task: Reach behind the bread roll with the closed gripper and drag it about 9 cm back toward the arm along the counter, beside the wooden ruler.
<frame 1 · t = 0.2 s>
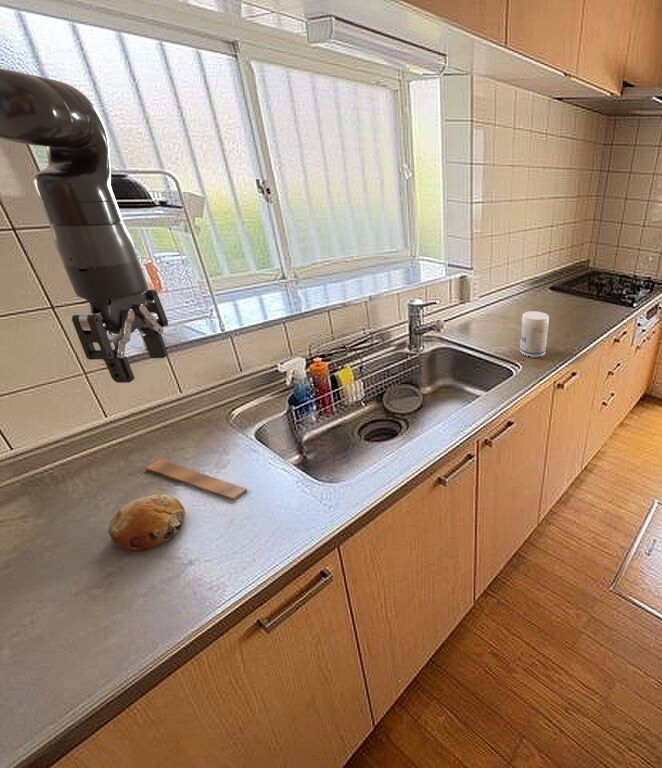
hand: (143, 368, 63), 30 cm above the counter, tool pointing down, fingers open, 8 cm apart
supplement tub: (532, 353, 154), on the counter
bread roll: (154, 531, 73), on the counter
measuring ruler: (195, 480, 85), on the counter
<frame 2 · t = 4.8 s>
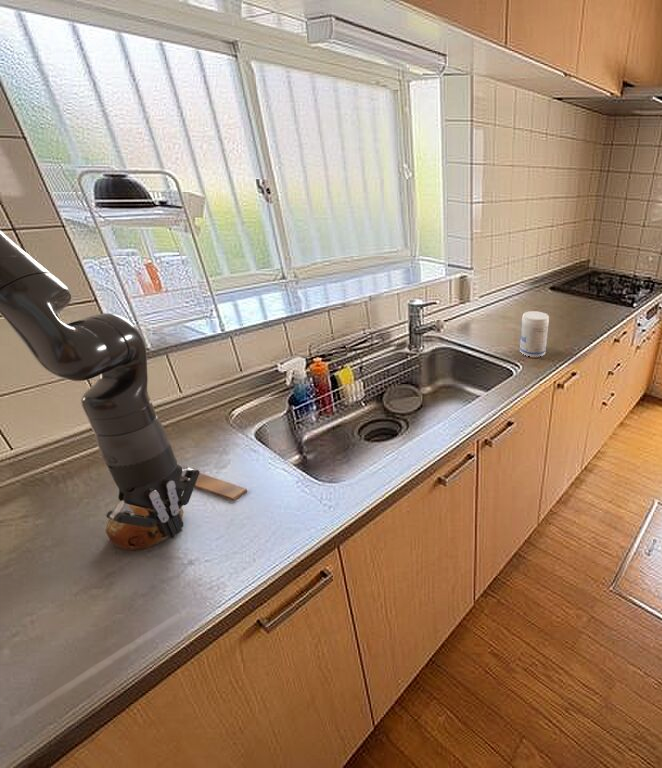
hand: (173, 532, 70), 2 cm above the counter, tool pointing down, fingers closed
bread roll: (151, 530, 73), on the counter, touching gripper
everything else where it was.
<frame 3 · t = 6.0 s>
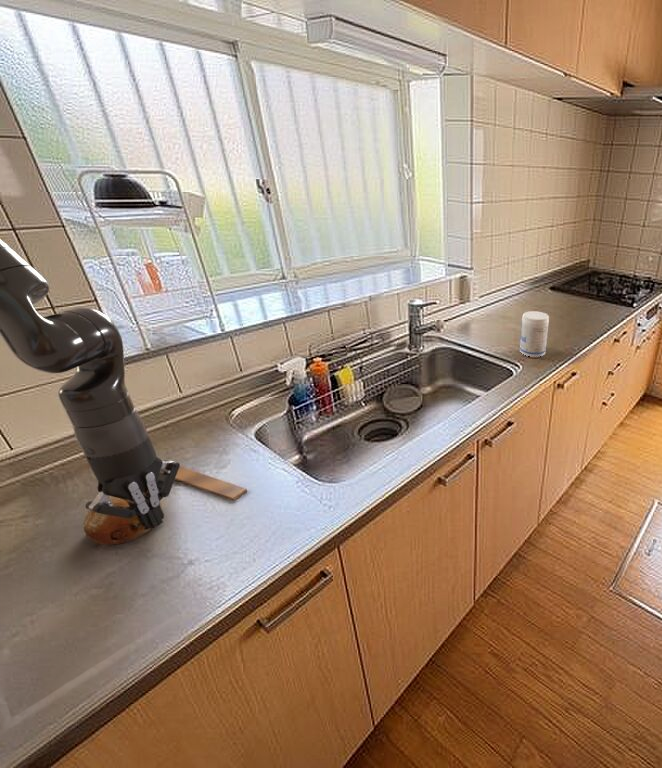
hand: (154, 524, 72), 2 cm above the counter, tool pointing down, fingers closed
bread roll: (130, 525, 74), on the counter, touching gripper
everything else where it was.
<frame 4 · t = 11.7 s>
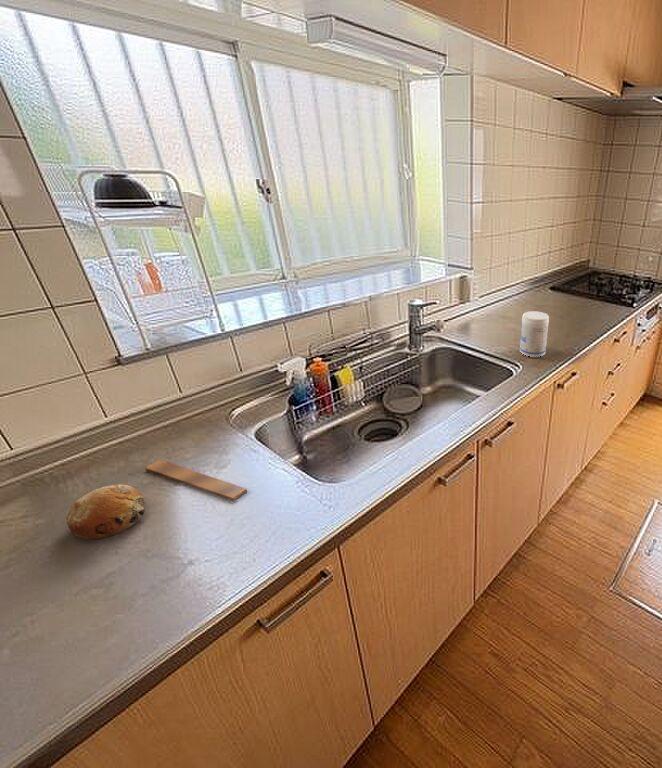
bread roll: (114, 520, 75), on the counter
everything else where it was.
at the end: bread roll inside the target area (0.9 cm from its centre), on the counter; bread roll moved 8.8 cm from its start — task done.
